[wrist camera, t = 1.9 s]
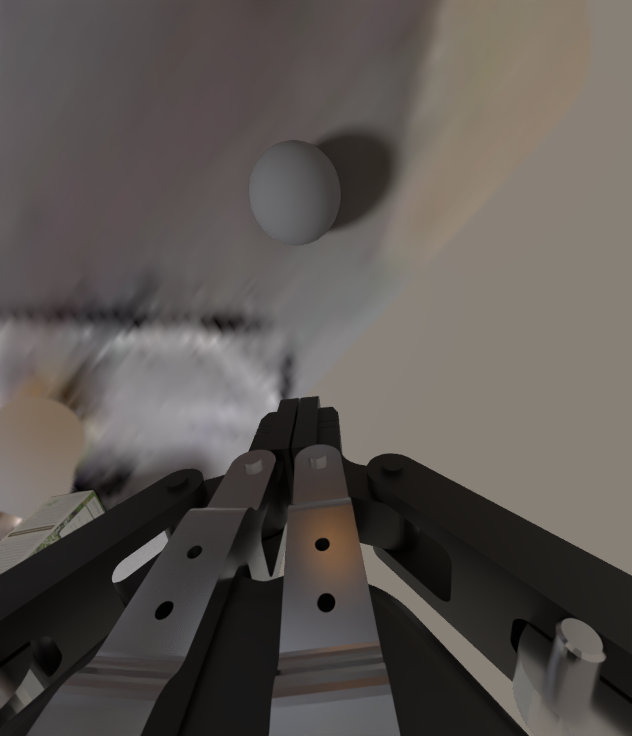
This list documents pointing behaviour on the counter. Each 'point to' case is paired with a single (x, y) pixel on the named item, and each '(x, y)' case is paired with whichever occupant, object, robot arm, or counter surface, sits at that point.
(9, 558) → the syrup box
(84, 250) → the counter surface
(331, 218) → the cue ball
